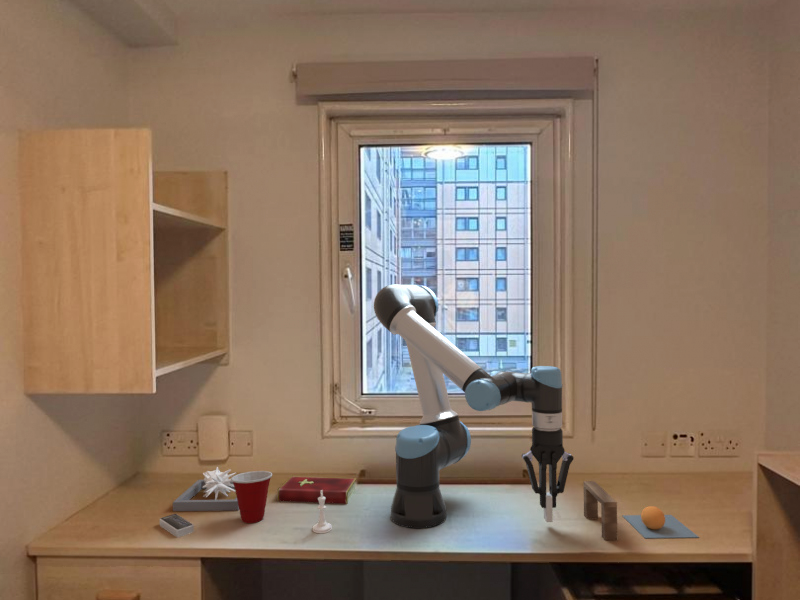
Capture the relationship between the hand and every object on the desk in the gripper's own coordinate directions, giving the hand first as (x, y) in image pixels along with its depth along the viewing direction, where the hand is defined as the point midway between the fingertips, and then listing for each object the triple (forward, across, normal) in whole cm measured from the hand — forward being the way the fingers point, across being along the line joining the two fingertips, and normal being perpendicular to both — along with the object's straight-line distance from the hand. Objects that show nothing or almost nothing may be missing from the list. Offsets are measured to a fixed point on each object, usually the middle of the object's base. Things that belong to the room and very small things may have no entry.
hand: (548, 519), depth 133 cm
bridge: (+2, +13, 0) cm, 13 cm away
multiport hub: (+3, -96, +2) cm, 96 cm away
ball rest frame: (+2, -93, +23) cm, 96 cm away
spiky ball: (+3, -92, +25) cm, 96 cm away
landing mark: (+2, +28, 0) cm, 28 cm away
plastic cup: (+3, -78, +8) cm, 78 cm away
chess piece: (+2, -58, +1) cm, 58 cm away
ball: (-1, +26, -1) cm, 26 cm away
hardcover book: (+3, -63, +25) cm, 68 cm away
